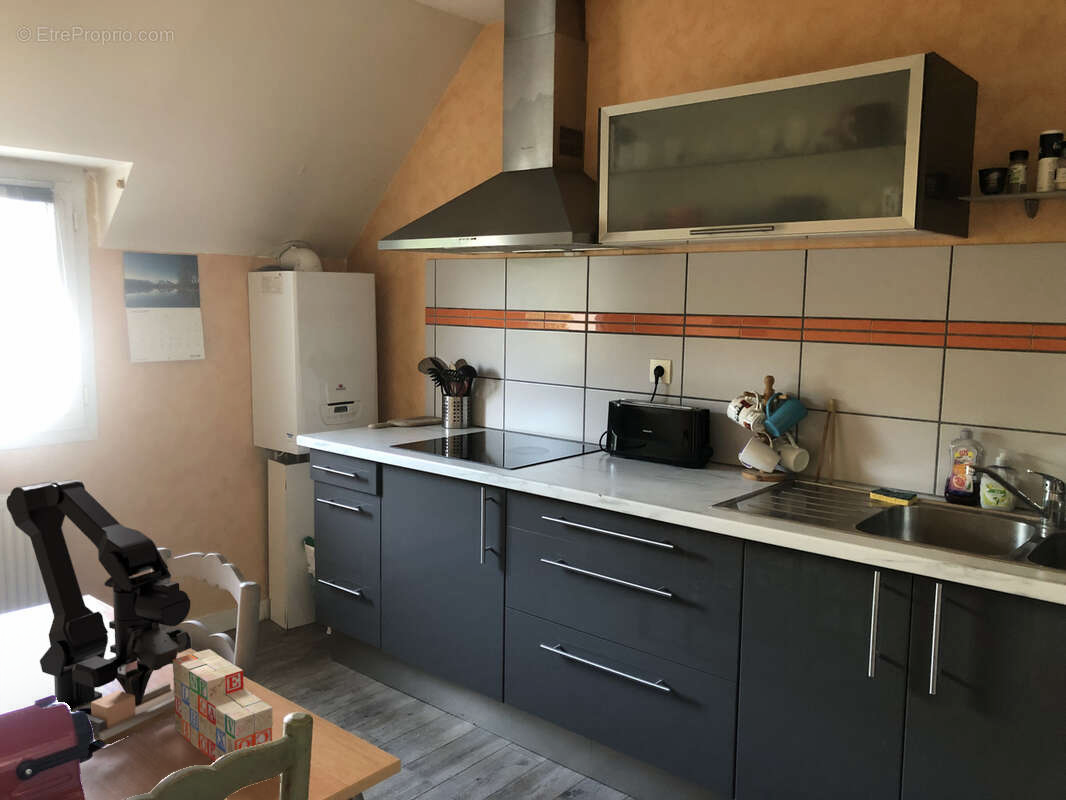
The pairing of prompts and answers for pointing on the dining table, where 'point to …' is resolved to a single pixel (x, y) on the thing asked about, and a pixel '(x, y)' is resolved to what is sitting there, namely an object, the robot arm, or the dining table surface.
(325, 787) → the dining table surface
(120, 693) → the block
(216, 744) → the stack of blocks
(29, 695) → the dining table surface
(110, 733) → the track
